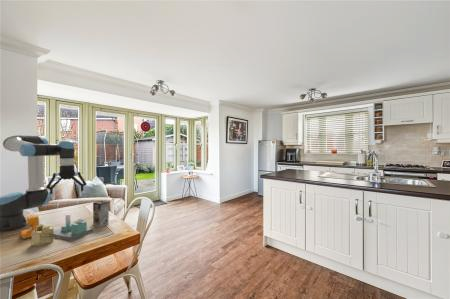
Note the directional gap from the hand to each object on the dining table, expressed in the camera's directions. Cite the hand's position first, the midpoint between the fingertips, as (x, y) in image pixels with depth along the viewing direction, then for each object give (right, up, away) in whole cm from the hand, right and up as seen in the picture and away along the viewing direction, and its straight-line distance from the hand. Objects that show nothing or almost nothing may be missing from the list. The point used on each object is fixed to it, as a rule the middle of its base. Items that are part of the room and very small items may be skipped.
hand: (67, 197), depth 127 cm
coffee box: (+11, -24, +17) cm, 31 cm away
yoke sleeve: (-5, -24, -11) cm, 27 cm away
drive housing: (+2, -24, +1) cm, 24 cm away
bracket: (-22, -24, -2) cm, 33 cm away
